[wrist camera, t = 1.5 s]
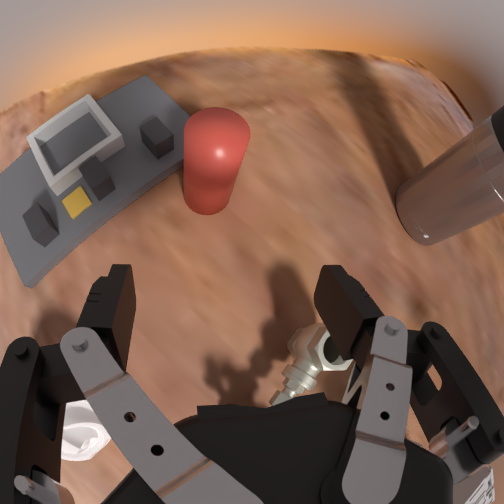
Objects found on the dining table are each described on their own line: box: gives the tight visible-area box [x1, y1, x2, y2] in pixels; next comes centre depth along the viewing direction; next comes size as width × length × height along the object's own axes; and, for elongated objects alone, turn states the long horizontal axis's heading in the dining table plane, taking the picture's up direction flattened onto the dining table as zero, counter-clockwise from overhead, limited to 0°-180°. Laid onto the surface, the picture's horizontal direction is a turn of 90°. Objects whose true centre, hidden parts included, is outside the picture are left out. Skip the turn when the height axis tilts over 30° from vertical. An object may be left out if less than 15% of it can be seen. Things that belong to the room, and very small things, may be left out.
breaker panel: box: [0, 75, 191, 288], centre depth 24 cm, size 24×14×4 cm, turn 133°
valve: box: [269, 323, 353, 406], centre depth 22 cm, size 7×7×12 cm
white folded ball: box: [61, 399, 111, 461], centre depth 16 cm, size 8×8×8 cm
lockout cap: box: [184, 107, 250, 215], centre depth 23 cm, size 5×5×10 cm
